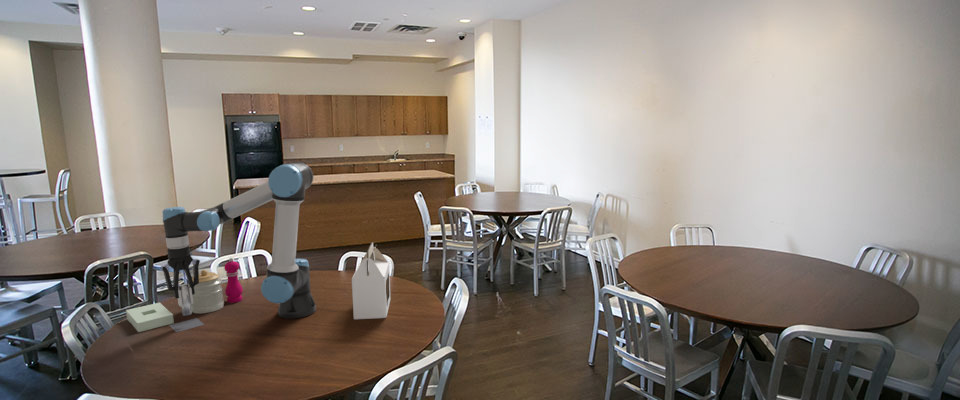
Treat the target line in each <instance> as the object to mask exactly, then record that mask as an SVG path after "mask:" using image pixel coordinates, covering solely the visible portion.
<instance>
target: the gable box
mask: <svg viewBox="0 0 960 400" xmlns="http://www.w3.org/2000/svg"><path fill="white" fill-rule="evenodd" d="M377 246H378V245H377V243H376V244H375V246H374V242H371V243H370V245H369V247H368V248H367V251H366V253H365V255H364V256H363V258H362V259H361V261H360V263H359V264H358V265H357V268H356V270H355V271H354V273H353V276H352V277H351V289H352V290H351V292H352V295H351V296H352V308H353V309H352V311H353V312H352V314H353V320H367V319H370V320H372V319H386V318H388V317H387V316H388V313H389V307H390V303H391V278H390V277H391V276H390V262H389V261H388V260H387V259H386V258H385V257H384V255H383V254H382V252H381V251H380V250H379V249H378V248H376V247H377Z"/></svg>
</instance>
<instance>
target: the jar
mask: <svg viewBox="0 0 960 400" xmlns="http://www.w3.org/2000/svg"><path fill="white" fill-rule="evenodd" d="M191 277H192V280H193V282H194V276H191ZM222 282H223V279H221V278H220V274H218V273H216V272H213V271H208V270H207V269H201V271H200V273H199V284H197V285H195V287H194V291H195V294H193V295H192V297H193V304H191V310H192V314H207V313H212V312H215V311H219V310H221V309H222V308H224V304H225V300H224V294H223V289H224V288H223V285H222ZM187 284H188V287H190V286H189V283H187Z"/></svg>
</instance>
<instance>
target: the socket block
mask: <svg viewBox="0 0 960 400" xmlns="http://www.w3.org/2000/svg"><path fill="white" fill-rule="evenodd" d="M125 314H126V319H127V321H128V322H129V323H130V324H131V325H132V326H133V327H134V329H135V330H136V331H137V333H141V332H142V333H143V332H144V331H149V330H153V329H156V328H160V327H165V326H169V325H171V324H175V322H174V321H175V320H174V314H173V313H172V312H171V311H170V310H169V309H168V308H166V307H165V306H164V305H163V304H162V303H161V302H156V303H152V304H148V305H143V306H139V307H134V308H130V309H126V310H125Z"/></svg>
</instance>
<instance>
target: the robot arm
mask: <svg viewBox="0 0 960 400" xmlns="http://www.w3.org/2000/svg"><path fill="white" fill-rule="evenodd" d="M313 182H314V173H313V170H312V168H311V167H310V166H309V165H308V164H306V163H303V162H299V161H298V162H291V163H283V164H281V165H279V166H277V167H275V168H274V169H272V171H271V172H270V173H269V176H268V181H265V182H263V183H262V184H259V185H258V186H255V187H254V188H251V189H249V190H247V191H245V192H243V193H240V194H239V195H237V196H235V197H232V198H230V199H227V200H226V201H224V202H223V203H220V204H217V205H215V206H213V207H210V208H207V209H204V210H201V211H190V212H188V211H186V209H185V208H184V206H171V207H166V208H164V209H163V210H162V222H163V223H162V224H163V228H164V233H165V242H166V252H167V257H168V258H167V259H168V260H167V261H166V262H167V263H166V264H165V265H161V266H160V269H161V270H162V272H163V276H164V280H165V283H166V287H167V290H169V291H173V296H174V298H175V299H177V304H178V306H179V307H180V308H182V307H181V306H183V304H182V297H181V290H179V285H180V284H179V281H180V280H179V279H180V271H182V270H183V271H184V273H185V274H184V275H185V277H186V280H187V284H189V286H190V287H189V295H190V303H191V304H193V297H192V295H193V294H195V291H194V287H195V285H197V284H199V274H200V273H199V272H200V271H199V265H200V263H201V260H200V259H197V258H195V259H194V258H193V257H192V255H191V254H192V253H191V249H190V247H191V246H190V239H189V232H211V231H215V230H217V229H218V227H219V226H220V225H223V224H226V223H228V222H230V221H231V220H232V219H235V218H238V217H239V216H241V215H243V214H245V213H248V212H250V211H253V210H254V209H256V208H258V207H260V206H262V205H266V204H267V203H268V202H272V201H274V203H275V212H274V225H273V237H272V238H273V239H272V241H273V242H272V252H271V253H272V254H271V262H270V263H269V264H268V265H267V267H266V277H265V278H264V279H263V281H262V283H261V286H260V291H261V295H262V296H263V297H264V298H265V299H266V300H267V301H268V302H270V303H273V304H279V305H278V308H277V311H278V312H277V313H278V315H277V316H278V317H280V318H282V319H299V318H305V317H308V316H310V315H312V314H314V313H315V312H317V304H316V303H315V302H316V301H315V299H314V297H313V295H312V292H311V280H310V279H311V277H310V265H309V263H310V262H309V261H308V259H306V258H296V256H297V242H298V234H299V233H298V231H299V230H298V229H299V217H300V205H301V204H302V203H303V202H304V201H305V196H306V195H305V194H306V190H307V189H309V188H310V187H311V186H312V184H313ZM191 264H192V268H193V269H192V272H193V274H191V271H190V265H191ZM170 268H171V269H173V271H172V272H173V276H172V277H173V279H172V278H171V276H170V271H169V270H170ZM192 275H193V276H194V282H193V280H192V277H193V276H192ZM171 279H172V280H173V283H172V280H171Z"/></svg>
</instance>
